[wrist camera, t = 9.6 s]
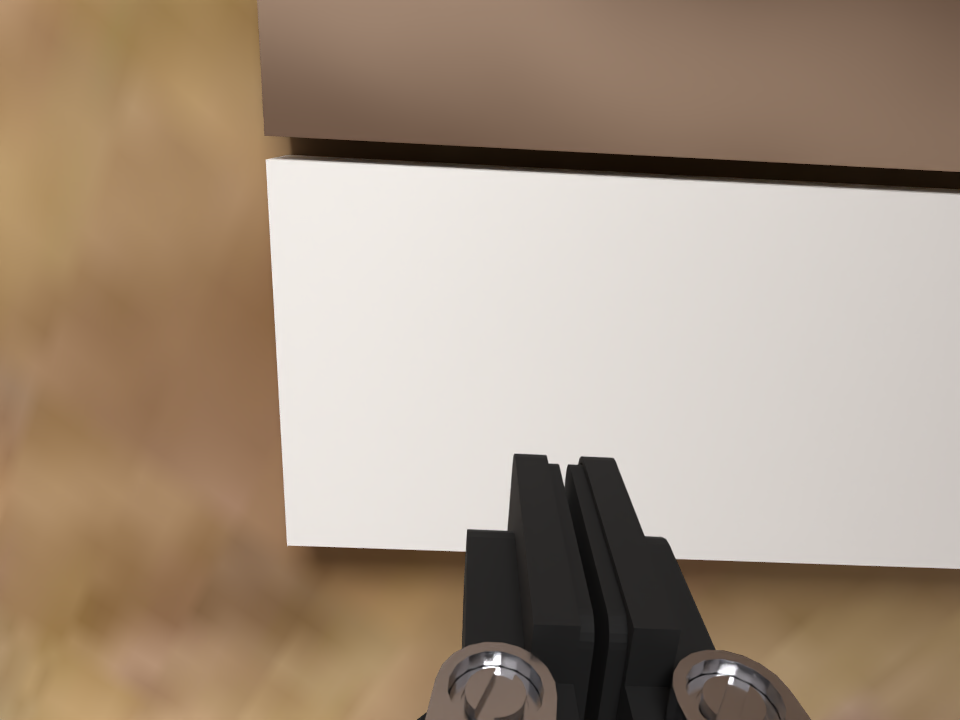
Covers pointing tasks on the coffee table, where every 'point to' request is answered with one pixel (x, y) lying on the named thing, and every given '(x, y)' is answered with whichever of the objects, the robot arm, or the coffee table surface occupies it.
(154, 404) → the coffee table surface
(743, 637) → the coffee table surface
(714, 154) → the walnut plank
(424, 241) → the off-white plank
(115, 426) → the coffee table surface
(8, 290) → the coffee table surface
